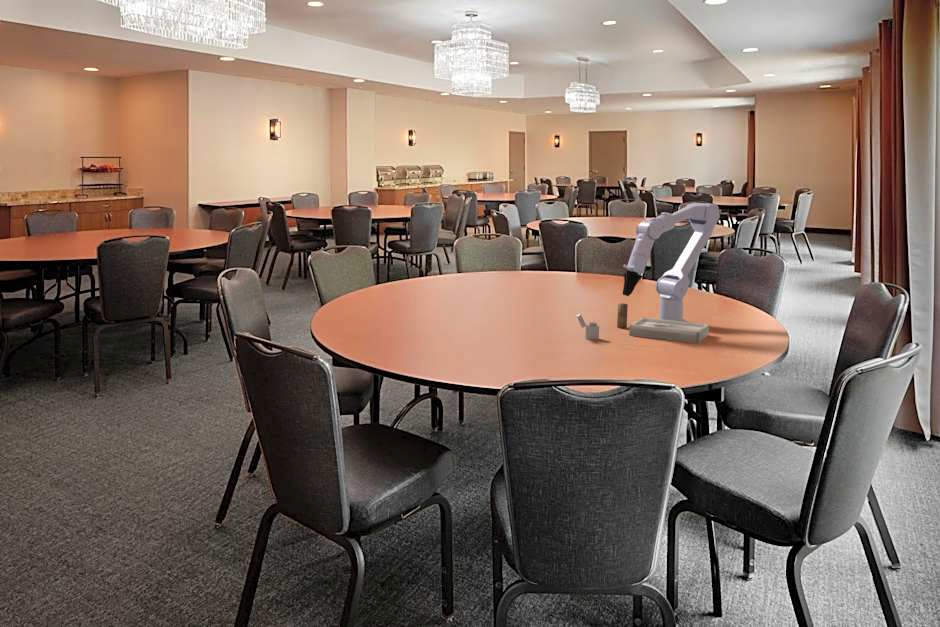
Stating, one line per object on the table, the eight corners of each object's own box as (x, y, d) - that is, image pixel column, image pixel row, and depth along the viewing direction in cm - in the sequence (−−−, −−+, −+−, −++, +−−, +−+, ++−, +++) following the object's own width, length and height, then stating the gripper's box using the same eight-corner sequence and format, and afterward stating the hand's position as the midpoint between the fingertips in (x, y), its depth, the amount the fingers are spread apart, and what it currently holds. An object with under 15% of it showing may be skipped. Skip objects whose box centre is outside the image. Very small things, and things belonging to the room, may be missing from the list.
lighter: (598, 338, 229) (599, 313, 228) (598, 339, 228) (599, 314, 226) (576, 337, 231) (576, 313, 229) (576, 339, 229) (576, 314, 227)
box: (641, 327, 244) (642, 317, 243) (708, 335, 233) (709, 324, 232) (629, 335, 233) (629, 324, 233) (698, 343, 222) (699, 332, 221)
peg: (618, 325, 247) (619, 303, 245) (628, 327, 245) (628, 303, 244) (615, 327, 244) (616, 304, 243) (624, 328, 243) (625, 305, 241)
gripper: (626, 254, 247) (613, 292, 247) (629, 249, 232) (616, 289, 232) (646, 261, 246) (633, 298, 246) (651, 256, 231) (637, 296, 231)
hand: (626, 294), depth 239 cm, fingers open, 7 cm apart
